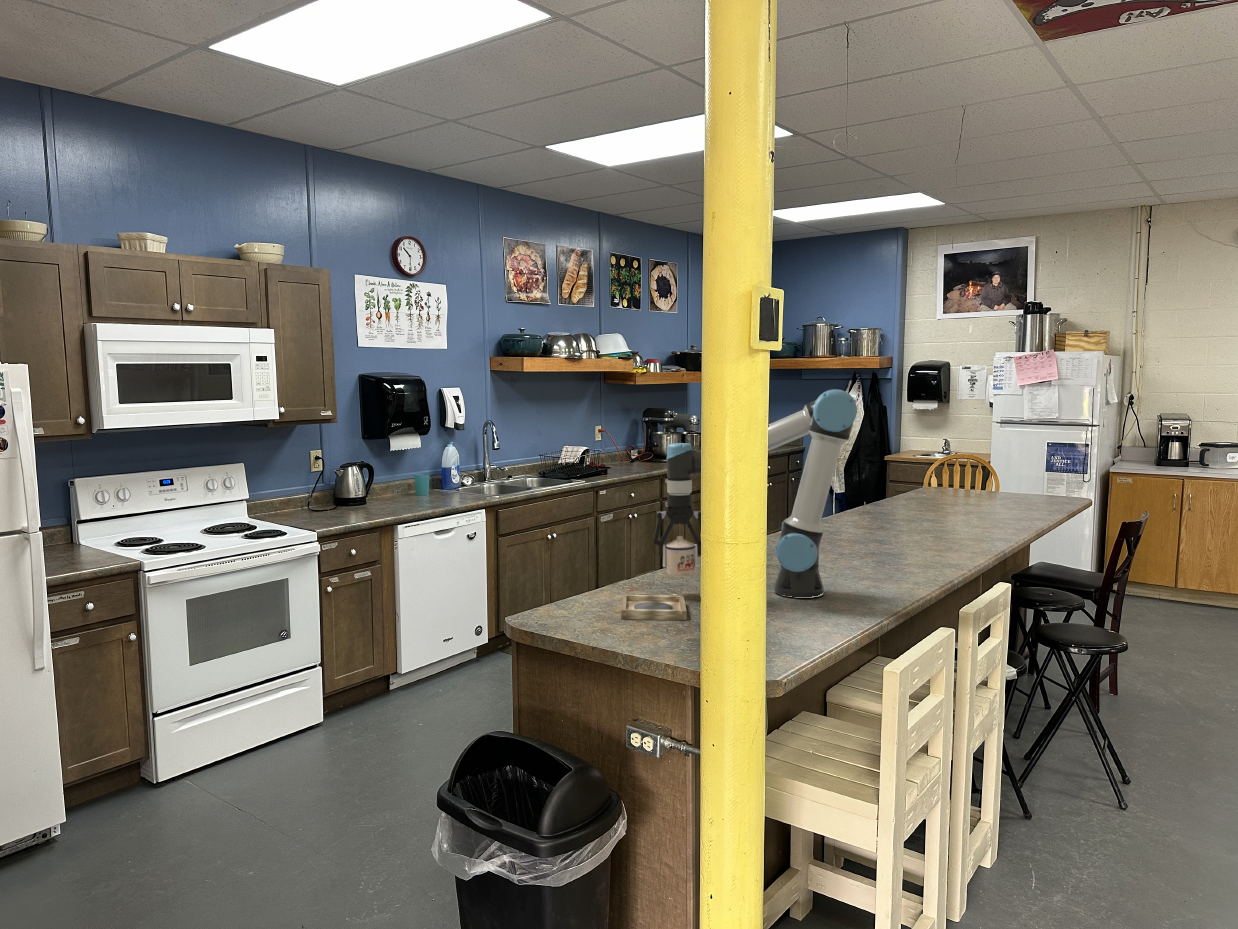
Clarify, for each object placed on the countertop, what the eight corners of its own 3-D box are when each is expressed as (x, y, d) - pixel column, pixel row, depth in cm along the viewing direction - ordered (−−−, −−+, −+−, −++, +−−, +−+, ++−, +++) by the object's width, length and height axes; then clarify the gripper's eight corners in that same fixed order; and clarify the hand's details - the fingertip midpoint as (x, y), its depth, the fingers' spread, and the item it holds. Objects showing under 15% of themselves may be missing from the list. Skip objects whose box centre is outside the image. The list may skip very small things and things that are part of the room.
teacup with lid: (679, 578, 247) (678, 539, 246) (659, 573, 254) (659, 536, 253) (708, 572, 254) (707, 535, 253) (688, 568, 262) (688, 531, 261)
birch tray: (683, 604, 244) (683, 595, 244) (686, 620, 227) (686, 611, 227) (622, 603, 245) (622, 594, 244) (621, 619, 228) (621, 610, 228)
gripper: (714, 491, 256) (714, 563, 258) (643, 492, 256) (644, 564, 258) (716, 494, 248) (716, 568, 250) (644, 495, 249) (644, 569, 251)
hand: (680, 566), depth 254 cm, fingers closed on teacup with lid, 9 cm apart
